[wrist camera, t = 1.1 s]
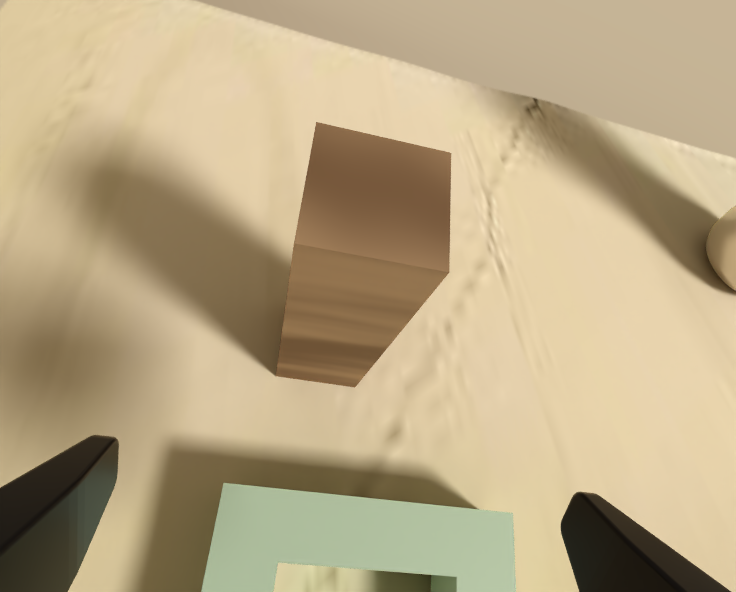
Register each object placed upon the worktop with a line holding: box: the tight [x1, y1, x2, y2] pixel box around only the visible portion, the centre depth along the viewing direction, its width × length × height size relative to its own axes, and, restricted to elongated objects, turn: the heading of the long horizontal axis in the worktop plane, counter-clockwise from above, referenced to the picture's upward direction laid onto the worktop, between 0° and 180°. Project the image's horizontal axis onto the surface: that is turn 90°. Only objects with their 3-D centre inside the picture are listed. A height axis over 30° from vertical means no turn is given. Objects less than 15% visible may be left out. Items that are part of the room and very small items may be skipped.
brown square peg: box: [276, 122, 451, 387], centre depth 18 cm, size 4×4×13 cm
